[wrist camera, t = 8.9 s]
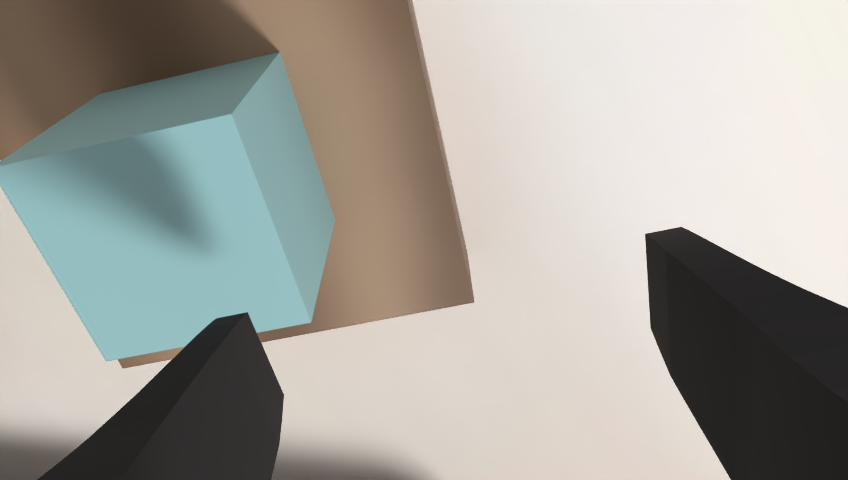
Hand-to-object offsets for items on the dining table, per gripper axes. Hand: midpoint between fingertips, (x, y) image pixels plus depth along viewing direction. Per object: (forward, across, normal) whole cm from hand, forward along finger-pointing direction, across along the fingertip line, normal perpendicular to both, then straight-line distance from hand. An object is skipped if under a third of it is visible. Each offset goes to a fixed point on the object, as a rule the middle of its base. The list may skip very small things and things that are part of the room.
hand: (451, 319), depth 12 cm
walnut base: (+10, +6, -1) cm, 12 cm away
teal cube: (+7, +6, -1) cm, 10 cm away
